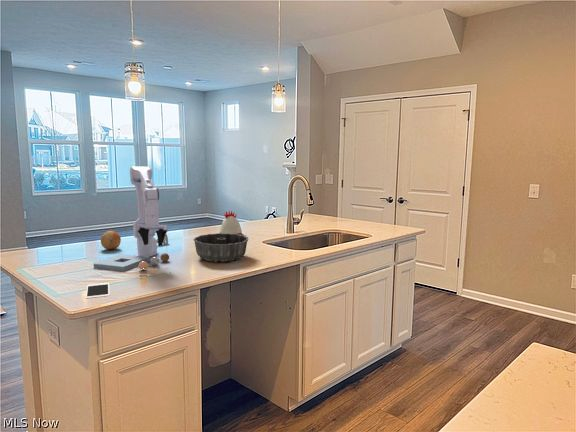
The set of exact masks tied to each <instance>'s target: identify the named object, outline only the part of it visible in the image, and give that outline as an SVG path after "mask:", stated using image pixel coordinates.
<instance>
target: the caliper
mask: <svg viewBox="0 0 576 432" xmlns="http://www.w3.org/2000/svg"><path fill="white" fill-rule="evenodd" d="M156 241H157V244H158V238H157V239H156ZM166 244H169V237H168V234H167V233H166V234H165V237H164V240H163V245H166Z"/></svg>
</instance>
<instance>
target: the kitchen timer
mask: <svg viewBox="0 0 576 432" xmlns="http://www.w3.org/2000/svg"><path fill="white" fill-rule="evenodd" d="M223 216H224V219H223V221H222V222H221V225H220V228H219V233H223V234H227V233H229V234H239V235H242V234H243V233H242V232H243V231H242V228H241V223H240V222H239V220H238V219H237V216H238V215H237V213H235V212H233V210H229V211H225V213H223ZM242 236H243V235H242Z"/></svg>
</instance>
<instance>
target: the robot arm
mask: <svg viewBox="0 0 576 432" xmlns="http://www.w3.org/2000/svg"><path fill="white" fill-rule="evenodd" d="M129 177H130V183H131V185H133V186H134V187H135V191H136V202H137V215H138V218H137V219H136V220H135V221H134V222H133V225H132V227H133V229H132V231H133V233H132V234H133V237H134V238H135V239H136V244H137V248H136V249H137V253H136V254H133V256H143V257H150V258H151V257H152V256H153V257H154V255H158V254H159V251H158V247H162V246H163V245H164V243H163V240H164V237H165V234H166V235H167V233H168V229H169V228H168V227H169V226H168V224H160V218H159V216H160V214H159V200H160V191H159V188H158V187H156V185H155V183H154V181H153V180H152V178H153V168H152V167H151V166H150V165H149V166H130V167H129ZM155 236H157V239H158V243H157V241H156V240H157V239H156V237H155Z"/></svg>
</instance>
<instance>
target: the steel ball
mask: <svg viewBox="0 0 576 432" xmlns="http://www.w3.org/2000/svg"><path fill="white" fill-rule="evenodd" d="M159 263H160V258H158V257H156V256H153V257H150V261H149V264H150V266H152V267H156V266H158V265H159Z"/></svg>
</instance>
